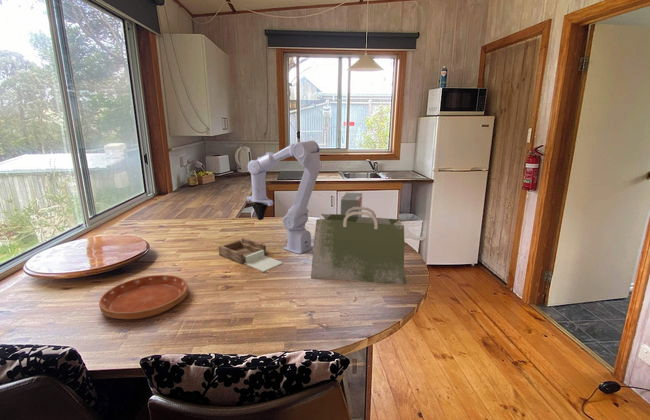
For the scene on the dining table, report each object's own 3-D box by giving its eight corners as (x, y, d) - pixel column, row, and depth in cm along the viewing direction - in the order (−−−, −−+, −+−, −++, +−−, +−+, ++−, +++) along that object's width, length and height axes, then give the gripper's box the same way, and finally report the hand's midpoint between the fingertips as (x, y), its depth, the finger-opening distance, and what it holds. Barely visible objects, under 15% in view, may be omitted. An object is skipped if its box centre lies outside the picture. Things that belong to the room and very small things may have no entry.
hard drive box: (357, 247, 141) (358, 200, 136) (339, 246, 143) (339, 199, 138) (361, 235, 156) (362, 192, 151) (345, 234, 158) (345, 191, 152)
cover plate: (283, 264, 126) (282, 256, 126) (263, 273, 119) (263, 264, 119) (263, 257, 133) (263, 249, 132) (244, 264, 126) (243, 256, 125)
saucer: (166, 277, 116) (165, 267, 115) (203, 299, 102) (202, 288, 101) (89, 305, 99) (86, 294, 98) (120, 336, 85) (118, 323, 84)
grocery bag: (403, 266, 123) (407, 204, 117) (407, 285, 109) (411, 215, 103) (315, 262, 127) (315, 202, 121) (309, 279, 114) (307, 212, 108)
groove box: (266, 254, 135) (265, 245, 134) (241, 264, 126) (240, 254, 125) (243, 246, 143) (243, 237, 142) (219, 255, 134) (218, 246, 133)
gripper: (277, 189, 142) (279, 220, 145) (255, 185, 151) (257, 214, 154) (264, 191, 136) (266, 224, 140) (242, 187, 145) (244, 218, 149)
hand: (260, 219), depth 147 cm, fingers closed
